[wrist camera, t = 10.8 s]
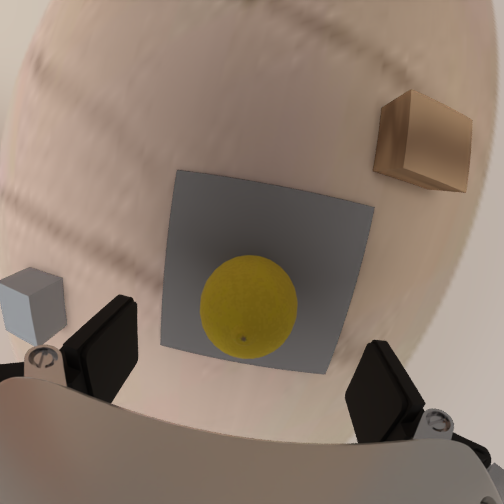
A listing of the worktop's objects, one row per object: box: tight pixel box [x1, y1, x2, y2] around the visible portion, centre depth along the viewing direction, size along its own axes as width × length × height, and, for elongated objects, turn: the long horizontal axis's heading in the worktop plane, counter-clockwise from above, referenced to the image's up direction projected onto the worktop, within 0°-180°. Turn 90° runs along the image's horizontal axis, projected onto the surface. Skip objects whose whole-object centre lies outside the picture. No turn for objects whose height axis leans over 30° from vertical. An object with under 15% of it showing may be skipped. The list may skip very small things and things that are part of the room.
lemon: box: [200, 255, 298, 359], centre depth 16 cm, size 6×6×8 cm
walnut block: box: [373, 89, 472, 193], centre depth 15 cm, size 5×5×5 cm
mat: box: [160, 170, 375, 374], centre depth 20 cm, size 14×14×1 cm
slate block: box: [0, 267, 67, 346], centre depth 20 cm, size 5×5×5 cm
